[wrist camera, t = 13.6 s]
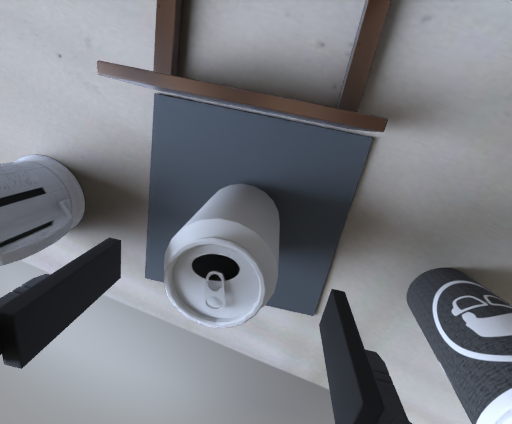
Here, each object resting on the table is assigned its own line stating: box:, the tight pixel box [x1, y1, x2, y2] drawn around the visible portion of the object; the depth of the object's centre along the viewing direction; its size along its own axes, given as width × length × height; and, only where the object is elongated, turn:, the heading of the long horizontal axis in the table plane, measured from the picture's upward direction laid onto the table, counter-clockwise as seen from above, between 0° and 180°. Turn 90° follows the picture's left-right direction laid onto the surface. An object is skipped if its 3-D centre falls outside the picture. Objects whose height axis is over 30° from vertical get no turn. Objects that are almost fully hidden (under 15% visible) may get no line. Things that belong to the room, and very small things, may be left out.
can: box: [164, 184, 280, 328], centre depth 21 cm, size 8×8×12 cm
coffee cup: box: [407, 268, 512, 424], centre depth 20 cm, size 10×10×15 cm
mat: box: [145, 93, 373, 316], centre depth 26 cm, size 20×20×1 cm
